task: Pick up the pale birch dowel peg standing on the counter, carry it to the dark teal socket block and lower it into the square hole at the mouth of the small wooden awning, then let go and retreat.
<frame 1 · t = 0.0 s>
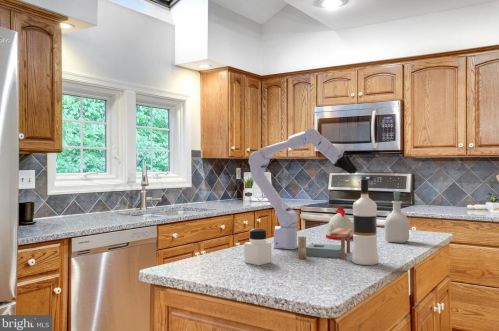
hand: (354, 171, 173), 32 cm above the counter, tool tilted 50°, fingers open, 7 cm apart
socket block: (325, 254, 169), on the counter
medicine bottle: (257, 263, 156), on the counter
vodka: (365, 263, 154), on the counter
soap bottle: (396, 242, 196), on the counter
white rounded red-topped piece: (340, 238, 208), on the counter
birch peg: (302, 258, 162), on the counter
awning: (341, 255, 167), on the counter
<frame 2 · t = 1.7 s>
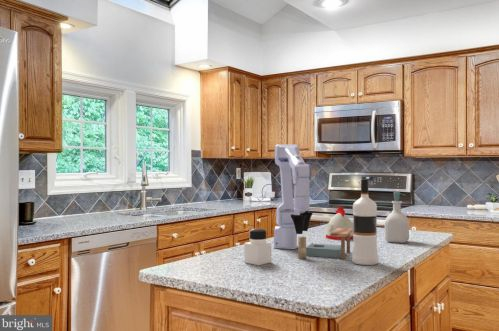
hand: (302, 232, 162), 10 cm above the counter, tool pointing down, fingers open, 7 cm apart
nothing on the counter moved.
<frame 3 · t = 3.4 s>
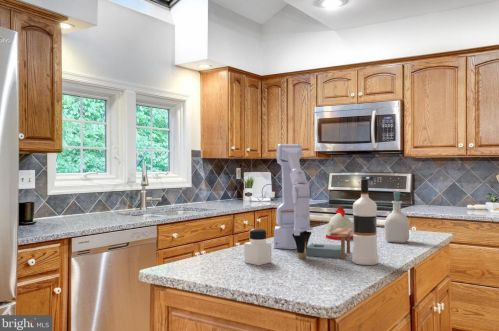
hand: (302, 251, 162), 2 cm above the counter, tool pointing down, fingers closed on birch peg, 3 cm apart
birch peg: (302, 258, 162), on the counter, touching gripper
everything else where it was.
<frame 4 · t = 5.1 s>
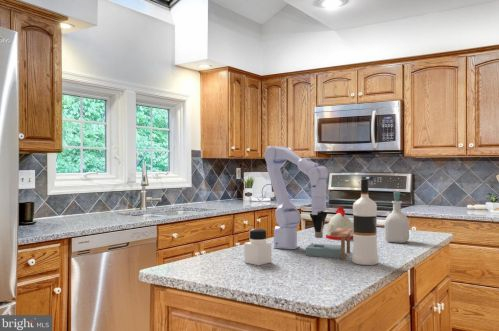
hand: (318, 231, 170), 9 cm above the counter, tool pointing down, fingers closed on birch peg, 3 cm apart
birch peg: (318, 237, 170), point 6 cm above the counter, touching gripper
everything else where it was.
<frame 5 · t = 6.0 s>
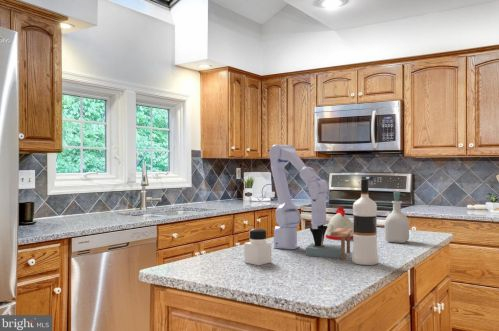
hand: (318, 244, 170), 3 cm above the counter, tool pointing down, fingers closed on birch peg, 3 cm apart
birch peg: (318, 251, 170), point 1 cm above the counter, touching gripper
everything else where it was.
when the fingers open (3 cm above the counter, at t = 6.7 s): birch peg stays where it is, on the counter.
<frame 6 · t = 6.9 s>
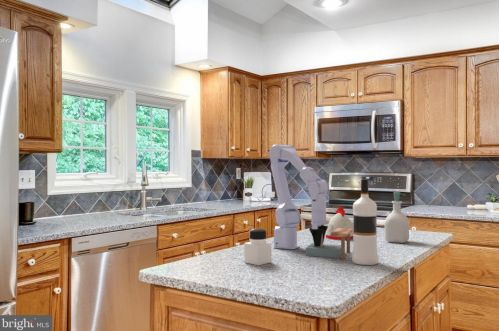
hand: (318, 245, 170), 3 cm above the counter, tool pointing down, fingers open, 5 cm apart
birch peg: (318, 253, 170), on the counter
everything else where it was.
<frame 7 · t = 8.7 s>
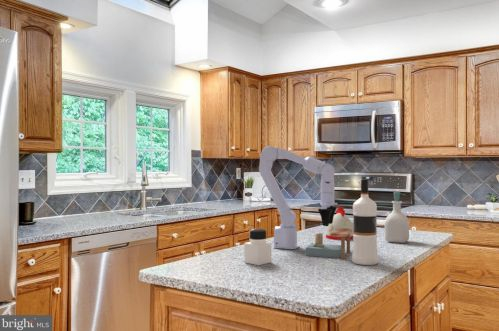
hand: (327, 224, 181), 10 cm above the counter, tool pointing down, fingers open, 7 cm apart
nothing on the counter moved.
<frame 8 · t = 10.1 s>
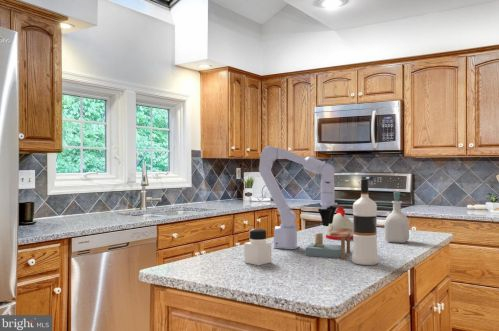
hand: (327, 224, 181), 10 cm above the counter, tool pointing down, fingers open, 7 cm apart
nothing on the counter moved.
at the end: birch peg 0.0 cm from the target spot on the socket block, point 0.0 cm above the socket block's base; birch peg tilted 0°; the gripper is holding nothing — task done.
